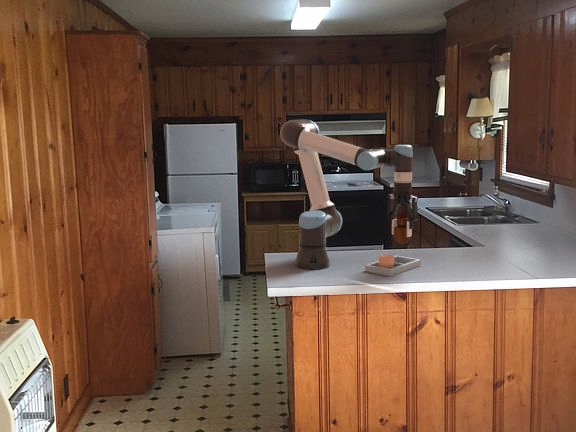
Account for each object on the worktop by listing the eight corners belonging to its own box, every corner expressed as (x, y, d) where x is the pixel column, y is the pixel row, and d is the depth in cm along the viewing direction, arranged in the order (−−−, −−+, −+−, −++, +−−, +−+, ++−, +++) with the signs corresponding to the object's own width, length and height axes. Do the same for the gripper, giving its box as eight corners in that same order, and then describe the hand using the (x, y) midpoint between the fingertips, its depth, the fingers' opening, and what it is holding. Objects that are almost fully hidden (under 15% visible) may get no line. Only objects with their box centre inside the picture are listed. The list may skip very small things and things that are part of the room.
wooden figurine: (408, 241, 279) (409, 207, 276) (411, 244, 273) (412, 209, 270) (392, 241, 278) (393, 207, 276) (395, 244, 273) (396, 209, 270)
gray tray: (365, 273, 269) (365, 265, 268) (396, 263, 286) (396, 255, 285) (390, 278, 260) (390, 270, 260) (420, 267, 278) (420, 259, 277)
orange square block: (375, 270, 269) (375, 256, 268) (383, 267, 273) (384, 254, 272) (388, 273, 264) (388, 259, 263) (396, 270, 269) (397, 256, 268)
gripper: (378, 180, 275) (377, 233, 279) (418, 184, 262) (417, 239, 265) (388, 179, 280) (387, 231, 284) (428, 182, 267) (426, 236, 271)
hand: (401, 235), depth 275 cm, fingers closed on wooden figurine, 7 cm apart
